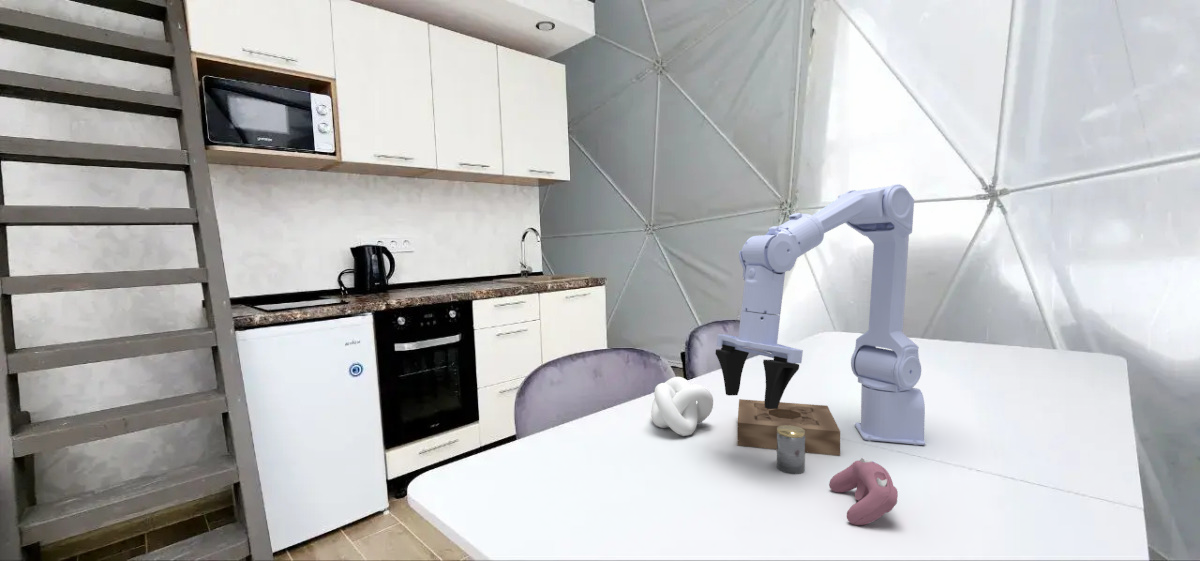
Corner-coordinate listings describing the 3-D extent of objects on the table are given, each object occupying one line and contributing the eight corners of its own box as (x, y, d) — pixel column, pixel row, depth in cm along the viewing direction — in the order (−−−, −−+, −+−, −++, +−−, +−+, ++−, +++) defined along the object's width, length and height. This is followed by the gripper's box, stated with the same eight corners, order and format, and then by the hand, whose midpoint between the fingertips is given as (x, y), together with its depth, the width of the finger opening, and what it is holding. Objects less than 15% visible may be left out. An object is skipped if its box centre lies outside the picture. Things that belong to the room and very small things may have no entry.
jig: (827, 426, 93) (827, 405, 93) (840, 455, 79) (840, 431, 79) (739, 419, 97) (739, 399, 97) (737, 445, 84) (737, 422, 84)
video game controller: (881, 542, 58) (912, 493, 57) (845, 522, 59) (874, 473, 58) (856, 501, 68) (882, 459, 67) (824, 484, 69) (849, 442, 68)
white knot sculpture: (705, 417, 99) (705, 373, 98) (721, 439, 87) (721, 389, 86) (649, 418, 99) (648, 374, 98) (657, 441, 87) (657, 391, 86)
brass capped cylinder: (803, 464, 76) (803, 426, 76) (806, 475, 73) (806, 435, 72) (775, 461, 78) (776, 424, 77) (777, 472, 74) (777, 433, 73)
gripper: (707, 306, 79) (698, 390, 79) (784, 317, 67) (772, 416, 67) (737, 309, 83) (728, 389, 83) (815, 320, 71) (804, 413, 71)
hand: (750, 401), depth 75 cm, fingers open, 7 cm apart
